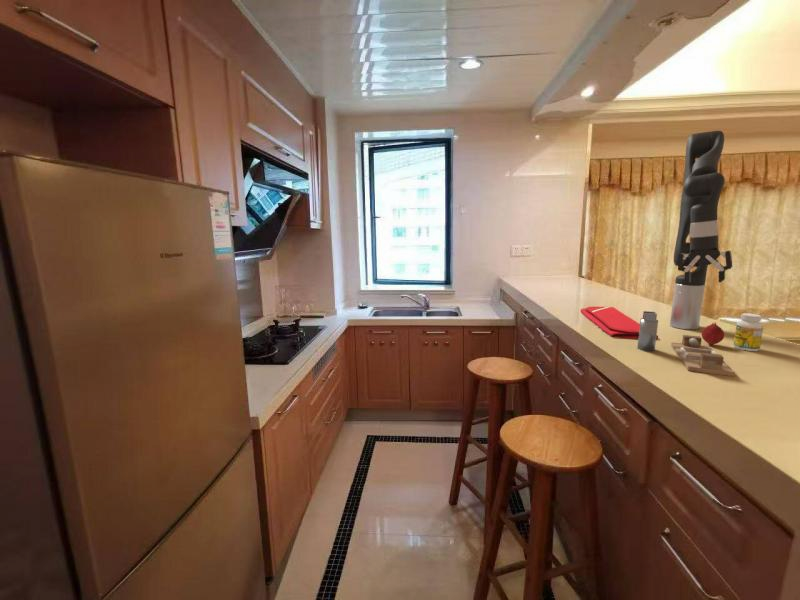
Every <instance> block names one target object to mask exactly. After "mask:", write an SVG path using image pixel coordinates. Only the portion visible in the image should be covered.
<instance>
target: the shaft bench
mask: <svg viewBox="0 0 800 600" xmlns="http://www.w3.org/2000/svg"><path fill="white" fill-rule="evenodd" d="M702 339H703V338H702V336H700V335H699V336H698V335H691V334H690V335H688V334H682V341H681V342H671V343H670V344H671V345H670V346H671V347H672V350H673V351H674V352H675V354H676V355H677V357H678V358H679V359H680V361H681V362H682V364H683V366H684V367H685V368H686V370H687V371H689V372H694V373H696V372H697V373H703V374H711V375H719V376H720V375H721V376H728V377H735V374H736V373H735V372H736V371H734V370H733V369H732V368H731V367H730V366H729V364H727V363H726V362H725V360H724V356H723V355H722V354H719V353H717V352H716V351H715V350H714V349H713V348H712V347H711V345H702Z"/></svg>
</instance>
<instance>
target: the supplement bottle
mask: <svg viewBox="0 0 800 600" xmlns="http://www.w3.org/2000/svg"><path fill="white" fill-rule="evenodd" d="M761 321H762V315H760V314H754V313H748V312H747V313H745V312H744V313H741V315H740V320H738V321H737V322H736V325H735V333H734V340H733V347H734V348H735V349H737V350H741V351H745V350H746V351H745V352H758V351H760V349H761V344H762V339H763V331H764V324H763V323H761Z"/></svg>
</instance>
